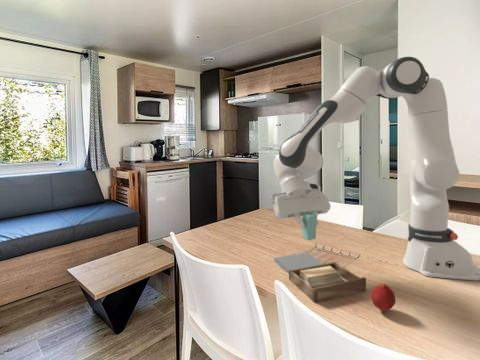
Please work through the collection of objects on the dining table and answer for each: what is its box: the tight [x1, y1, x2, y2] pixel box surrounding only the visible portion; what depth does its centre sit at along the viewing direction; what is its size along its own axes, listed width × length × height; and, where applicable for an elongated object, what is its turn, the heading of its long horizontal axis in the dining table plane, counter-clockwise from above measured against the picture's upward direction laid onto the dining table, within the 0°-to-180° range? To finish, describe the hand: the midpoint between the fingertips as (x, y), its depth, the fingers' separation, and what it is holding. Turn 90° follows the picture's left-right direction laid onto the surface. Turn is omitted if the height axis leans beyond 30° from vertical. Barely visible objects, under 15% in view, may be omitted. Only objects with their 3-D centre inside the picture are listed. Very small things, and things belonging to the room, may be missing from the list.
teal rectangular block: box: [301, 213, 317, 241], centre depth 101 cm, size 4×3×8 cm
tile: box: [273, 251, 324, 275], centre depth 109 cm, size 14×14×1 cm
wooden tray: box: [288, 261, 367, 303], centre depth 95 cm, size 15×18×4 cm
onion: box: [370, 282, 397, 312], centre depth 80 cm, size 6×6×8 cm
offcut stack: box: [299, 266, 344, 288], centre depth 98 cm, size 6×13×3 cm, turn 109°
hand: (310, 225), depth 100 cm, fingers closed on teal rectangular block, 3 cm apart
